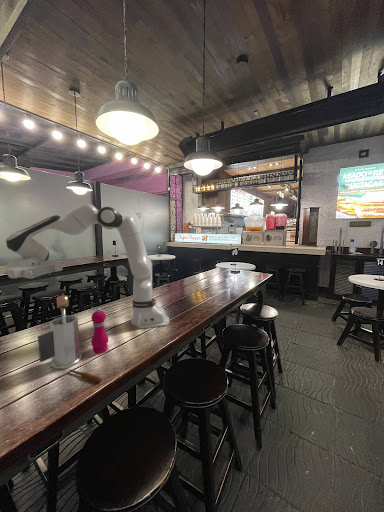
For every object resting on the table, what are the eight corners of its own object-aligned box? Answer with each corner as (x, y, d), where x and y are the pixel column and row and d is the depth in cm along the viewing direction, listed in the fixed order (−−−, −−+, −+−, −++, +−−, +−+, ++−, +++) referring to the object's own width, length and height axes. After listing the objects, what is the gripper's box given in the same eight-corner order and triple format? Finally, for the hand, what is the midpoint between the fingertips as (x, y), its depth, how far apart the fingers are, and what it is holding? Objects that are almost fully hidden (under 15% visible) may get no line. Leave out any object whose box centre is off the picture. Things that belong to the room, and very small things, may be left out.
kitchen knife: (102, 382, 78) (101, 377, 78) (99, 384, 77) (99, 379, 77) (70, 371, 84) (70, 367, 84) (67, 373, 83) (67, 369, 83)
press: (85, 353, 96) (83, 314, 94) (70, 373, 83) (67, 328, 80) (59, 354, 95) (56, 315, 93) (39, 374, 82) (35, 329, 80)
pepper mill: (95, 346, 102) (93, 305, 100) (110, 345, 103) (109, 305, 100) (89, 354, 95) (86, 311, 93) (105, 354, 96) (104, 310, 93)
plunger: (77, 352, 93) (73, 294, 90) (70, 361, 87) (66, 299, 84) (62, 353, 93) (58, 294, 90) (55, 361, 87) (50, 299, 84)
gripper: (0, 265, 90) (15, 267, 83) (52, 259, 107) (68, 261, 100) (2, 279, 91) (16, 283, 84) (53, 271, 108) (69, 274, 101)
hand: (45, 271), depth 92 cm, fingers open, 8 cm apart
